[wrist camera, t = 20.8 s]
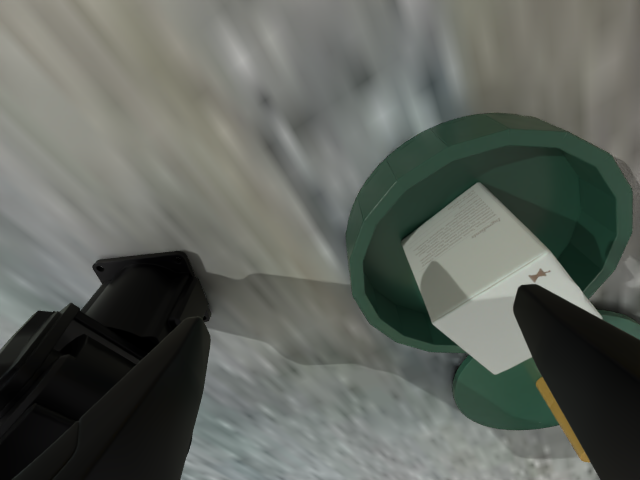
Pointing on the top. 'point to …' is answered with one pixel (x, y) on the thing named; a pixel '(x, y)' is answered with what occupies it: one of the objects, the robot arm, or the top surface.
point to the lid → (519, 393)
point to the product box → (483, 276)
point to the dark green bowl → (507, 186)
